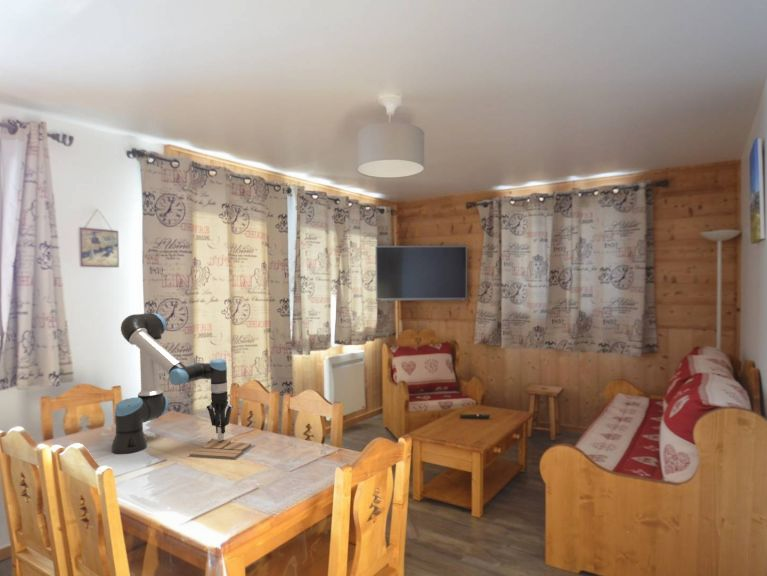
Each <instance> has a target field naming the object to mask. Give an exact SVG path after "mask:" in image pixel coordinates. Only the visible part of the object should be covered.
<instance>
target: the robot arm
mask: <svg viewBox="0 0 767 576" xmlns="http://www.w3.org/2000/svg"><path fill="white" fill-rule="evenodd" d="M166 329H167V322H166V319H165V318H164V317H163V316H162V315H161V314H159V313H155V312H154V313H153V312H152V313H151V312H147V313H136V314H130V315H128V316H127V317H125V318H124V319H123V321H122V322H121V326H120V332H121V335H122V337H123V338H124V339H125V340H126V341H127V342H128V343H129V344H130V345H133V346H134V345H135V346H136V347H137V348H138V349H139V359H140V360H139V361H140V362H139V365H140V392H138V394H137V397H130V398H126V399H122V400H121V401H119V402H117V403H116V405H115V412H114V414H115V415H114V417H115V436H114V439H113V442H112V445H111V452H112V453H113V454H118V455H119V454H121V455H123V454H131V453H132V454H133V453H136V452H141V451H143V450H145V449H146V448H147V447H148V441H147V438H146V435H145V433H144V428H143V427H144V423H147V422H149V421H152V420H156V419H158V418H160V417H162V416H164V415H165V414H166V412H167V411H168V409H169V399H168V398H167V396H166V395H165V394H164V391H163V390H162V389H161V388H160V368H161V369H162V370H163V371H164V372H166V374H167V375H168V379H169V382H170V384H171V385H173V386H181V385H185V384H188V383H191V382H196V381H199V380H210V395H211V396H210V399H211V402H210V404H208V405H206V410H207V411H208V415H209V419H210V422H211V425H212V426H214V427H215V433H216V434H217V439H218V441H222V440H225V437H224V436H225V435H224V434H225V433H226V427H227V426H228V425H230V420H231V419H230V418H231V412H232V411H233V408H234V406H233V405H231V404H230V403H229V401H228V398H229V397H228V378H227V377H228V375H227V374H228V372H227V371H228V366H227V360H226V359H224V358H216V359H215V358H214V359H211V360H210V361H209V362H208V363H203V362H193V363H191V364H189V365H188V366H187V365H185V364H184V363H183V362H181V361H180V360H179V359H178V358H177V357H175V356H174V355H173V354H172V353H171V352H170V351H168V349H166V348H165V347H164V346H163V345H162V344H161V343H159V342H160V341H161V340H162V335H163V334H164V333H165V331H166Z"/></svg>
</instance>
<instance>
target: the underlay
mask: <svg viewBox="0 0 767 576" xmlns="http://www.w3.org/2000/svg"><path fill="white" fill-rule="evenodd" d="M256 446H257V445H256V444H251V446H250V447H249V448H247V449H246V450H245V451H240V450H224V449H208V448H202V447H199V448H197V449H195V450H194V451H192V452H190V453H189V455H188V456H186V457H187V458H198V459H213V460H227V461H229V460H230V461H237V460H239V459H240V458H241V457H242V456H244V455H245V454H246V453H248V452H249V451H250V450H252V449H253V448H254V447H256Z"/></svg>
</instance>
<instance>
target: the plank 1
mask: <svg viewBox="0 0 767 576" xmlns="http://www.w3.org/2000/svg"><path fill="white" fill-rule="evenodd" d="M231 442H232V440H231V439H223V440H222V441H218V438H216V439H215V438H211V439H210V440H209V441H208V442H206V443H205V444H204V445H202V447H201V448H208V449H222V448H224V447H225V446H227V445H228V444H230V443H231Z"/></svg>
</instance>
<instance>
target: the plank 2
mask: <svg viewBox="0 0 767 576" xmlns="http://www.w3.org/2000/svg"><path fill="white" fill-rule="evenodd" d="M251 445H252V443H251V442H236V441H233V442H232V441H231V443H230V444H228V445H227V446H225V447H224V448H222V449H224V450H240V451H245V450H246V449H247V448H249V447H250V446H251Z"/></svg>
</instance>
